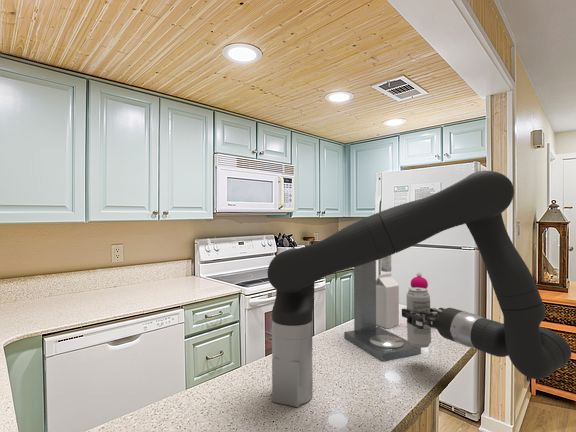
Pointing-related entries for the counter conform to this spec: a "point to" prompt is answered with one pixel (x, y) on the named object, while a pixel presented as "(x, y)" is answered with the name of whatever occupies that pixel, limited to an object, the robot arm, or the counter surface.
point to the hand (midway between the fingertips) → (412, 310)
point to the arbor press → (374, 318)
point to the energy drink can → (417, 302)
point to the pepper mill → (419, 281)
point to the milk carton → (387, 301)
